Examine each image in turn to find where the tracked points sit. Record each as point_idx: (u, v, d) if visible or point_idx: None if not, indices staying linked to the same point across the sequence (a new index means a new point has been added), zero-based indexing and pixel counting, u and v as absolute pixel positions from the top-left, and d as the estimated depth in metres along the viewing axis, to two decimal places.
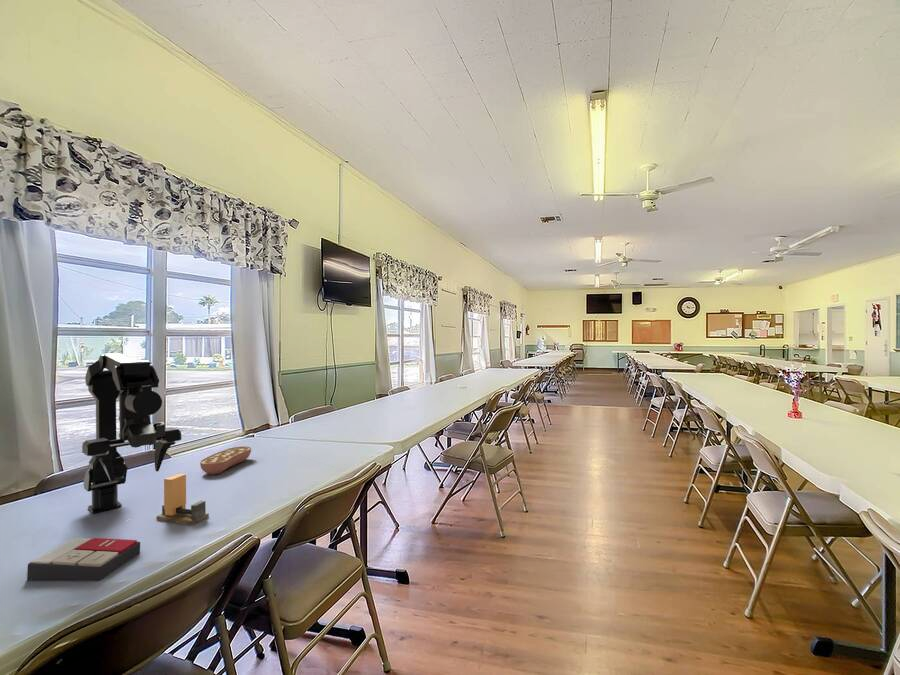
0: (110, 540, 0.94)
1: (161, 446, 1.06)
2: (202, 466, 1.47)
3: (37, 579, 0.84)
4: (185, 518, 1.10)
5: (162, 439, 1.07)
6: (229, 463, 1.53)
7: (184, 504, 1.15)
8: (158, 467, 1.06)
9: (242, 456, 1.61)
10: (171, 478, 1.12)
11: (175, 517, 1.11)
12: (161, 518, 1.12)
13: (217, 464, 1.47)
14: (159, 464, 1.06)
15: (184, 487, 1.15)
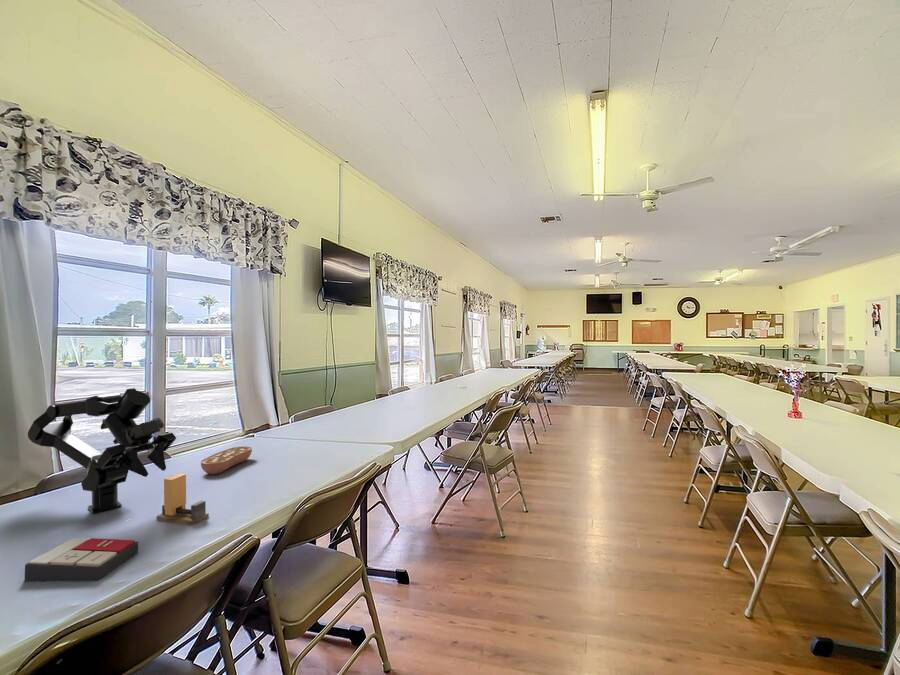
0: (108, 540, 0.94)
1: (157, 447, 1.19)
2: (203, 466, 1.47)
3: (35, 580, 0.84)
4: (185, 518, 1.10)
5: (154, 445, 1.20)
6: (230, 463, 1.53)
7: (184, 504, 1.15)
8: (164, 465, 1.18)
9: (243, 456, 1.61)
10: (171, 478, 1.12)
11: (175, 517, 1.11)
12: (161, 518, 1.12)
13: (218, 464, 1.47)
14: (163, 462, 1.18)
15: (184, 487, 1.15)
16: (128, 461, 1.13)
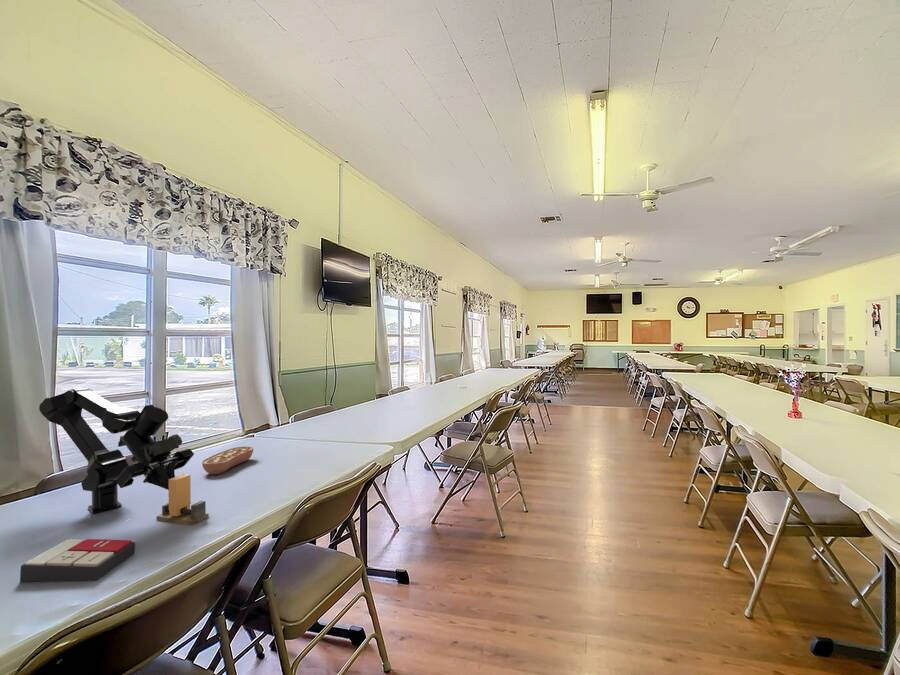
0: (104, 541, 0.94)
1: (167, 467, 1.15)
2: (204, 466, 1.46)
3: (31, 581, 0.84)
4: (185, 518, 1.10)
5: (164, 464, 1.16)
6: (231, 463, 1.52)
7: (188, 505, 1.14)
8: None
9: (244, 456, 1.61)
10: (176, 478, 1.12)
11: (175, 517, 1.11)
12: (161, 518, 1.12)
13: (219, 464, 1.47)
14: None
15: (188, 488, 1.14)
16: (156, 476, 1.14)
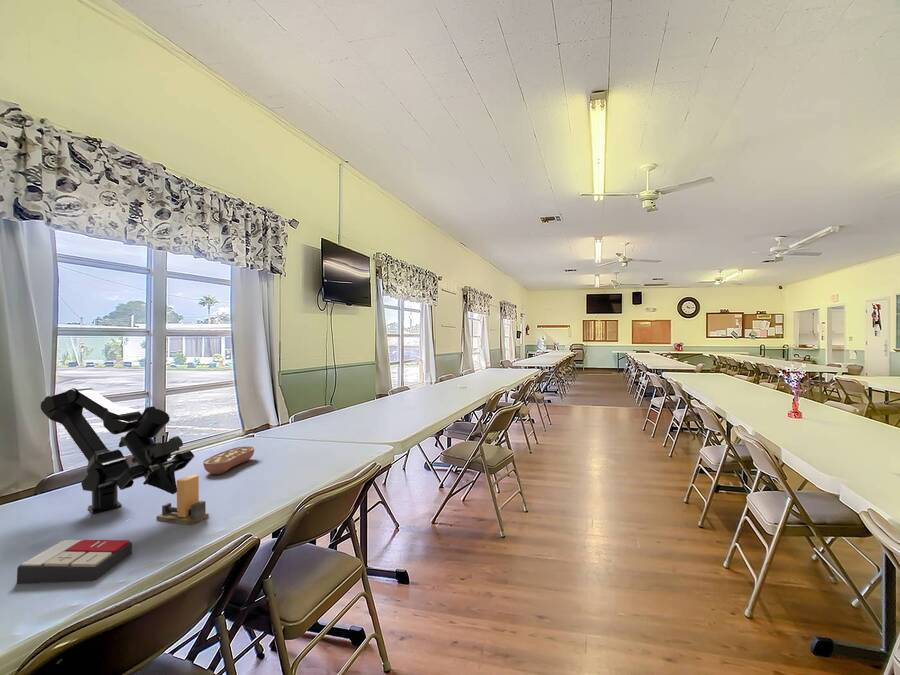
0: (101, 541, 0.93)
1: (168, 469, 1.15)
2: (205, 466, 1.46)
3: (28, 582, 0.83)
4: (185, 518, 1.10)
5: (165, 466, 1.16)
6: (232, 463, 1.52)
7: None
8: (175, 487, 1.14)
9: (245, 456, 1.60)
10: (184, 479, 1.11)
11: (175, 517, 1.11)
12: (161, 518, 1.12)
13: (220, 464, 1.47)
14: (174, 485, 1.14)
15: (197, 488, 1.14)
16: (156, 478, 1.14)
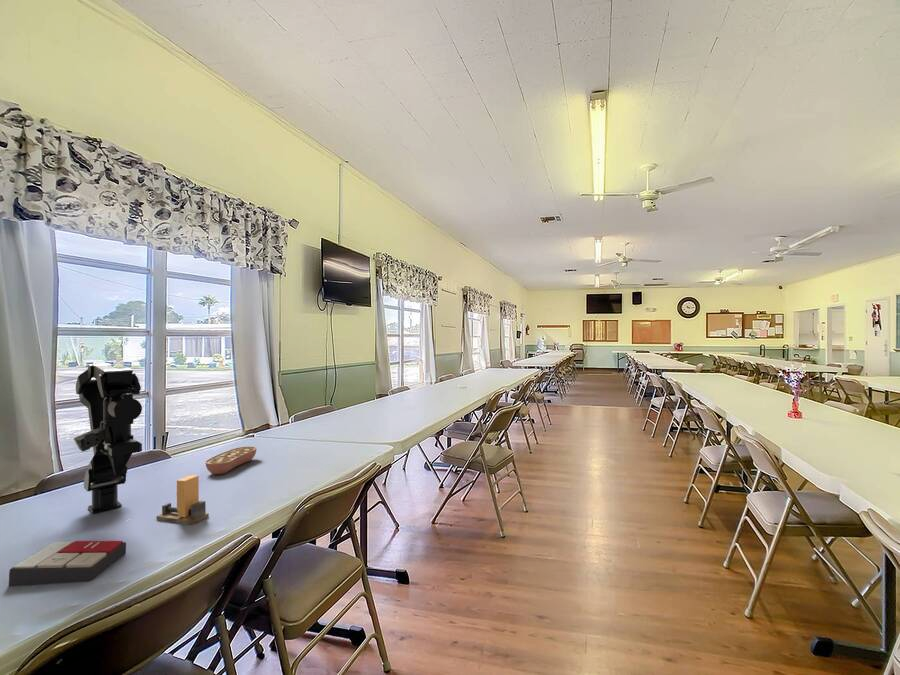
0: (94, 542, 0.93)
1: None
2: (208, 466, 1.46)
3: (20, 584, 0.83)
4: (185, 518, 1.10)
5: None
6: (234, 463, 1.52)
7: None
8: (114, 472, 1.11)
9: (248, 457, 1.60)
10: (184, 479, 1.11)
11: (175, 517, 1.11)
12: (161, 518, 1.12)
13: (223, 464, 1.47)
14: (114, 470, 1.10)
15: (197, 488, 1.14)
16: None
